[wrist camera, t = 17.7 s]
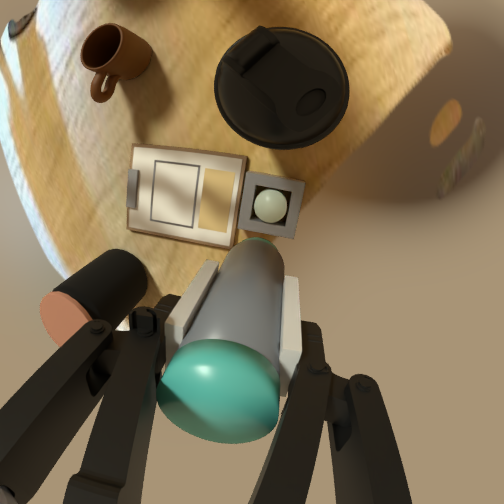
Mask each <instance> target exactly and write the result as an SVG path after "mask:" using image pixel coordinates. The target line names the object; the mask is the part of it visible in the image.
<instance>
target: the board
mask: <svg viewBox="0 0 504 504" xmlns="http://www.w3.org/2000/svg"><path fill="white" fill-rule="evenodd" d="M246 162H247V156H242V155H236V154H229V153H222V152H215V151H207V150H199V149H190V148H181V147H171V146H160V145H148V144H132V149H131V159H130V169H129V170H128V184H127V201H126V207H127V229H129V230H134V231H139V232H144V233H149V234H154V235H159V236H164V237H169V238H174V239H179V240H185V241H190V242H195V243H200V244H205V245H210V246H215V247H220V248H225V249H232V248H233V245H234V239H235V232H236V225H237V219H238V212H239V206H240V200H241V193H242V187H243V181H244V175H245V168H246Z"/></svg>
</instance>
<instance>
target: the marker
mask: <svg viewBox="0 0 504 504" xmlns="http://www.w3.org/2000/svg"><path fill="white" fill-rule="evenodd" d="M283 283H284V262H283V259H282V257H281V255H280V253H279V252H278V250H277V248H276V247H275V246H274V245H273V244H272V243H271V242H270V241H268V240H266V239H263V238H259V237H253V238H248V239H245V240H243V241H242V242H240V243H238V244H237V245H235V246H234V247H233V248H232V249H231V250H230V251H229V253H228V254H227V256H226V258H225V260H224V262H223V264H222V265H221V267H220V269H219V271H218V273H217V275H216V277H215V279H214V281H213V283H212V285H211V287H210V289H209V290H208V292H207V294H206V296H205V298H204V300H203V302H202V304H201V306H200V308H199V309H198V311H197V313H196V315H195V317H194V319H193V321H192V323H191V325H190V327H189V329H188V331H187V333H186V335H185V337H184V338H183V340H182V342H181V344H180V346H179V347H178V349H177V351H176V352H175V353H174V355H173V357H172V358H171V360H170V362H169V364H168V366H167V368H166V370H165V372H164V374H163V376H162V378H161V380H160V382H159V384H158V386H157V389H156V399H157V402H158V405H159V407H160V409H161V410H162V412H163V413H164V414H165V415H166V417H167V418H168V419H169V420H170V421H171V422H173V423H174V424H175V425H176V426H178V427H179V428H181V429H182V430H184V431H186V432H188V433H190V434H192V435H194V436H196V437H199V438H202V439H205V440H208V441H213V442H218V443H228V444H234V443H235V444H237V443H245V442H251V441H254V440H257V439H260V438H262V437H264V436H266V435H267V434H268V433H270V432H271V431H272V430H273V429H274V427H275V426H276V424H277V421H278V416H279V401H280V364H279V348H280V331H281V312H282V290H283Z"/></svg>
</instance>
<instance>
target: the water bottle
mask: <svg viewBox="0 0 504 504" xmlns="http://www.w3.org/2000/svg"><path fill="white" fill-rule="evenodd" d="M214 93H215V99H216V103H217V106H218V108H219V111H220V113H221V115H222V117H223V118H224V120H225V121H226V122H227V124H228V125H229V126H230V127H231V128H232V129H233V130H234V131H235V132H236V133H237V134H239V135H240V136H241V137H243V138H244V139H246V140H248V141H250V142H252V143H254V144H256V145H259V146H262V147H266V148H270V149H278V150H290V149H297V148H303V147H307V146H309V145H312V144H314V143H316V142H318V141H320V140H322V139H323V138H325V137H326V136H327V135H328V134H330V133H331V132H332V131H333V130H334V129H335V128H336V126H337V125H338V124H339V123H340V121H341V120H342V118H343V116H344V114H345V112H346V109H347V106H348V100H349V80H348V76H347V72H346V70H345V67H344V65H343V63H342V61H341V60H340V58H339V56H338V55H337V54H336V53H335V51H334V50H333V49H332V48H331V47H330V46H329V45H328V44H326V43H325V42H324V41H323V40H321V39H320V38H318V37H316V36H314V35H312V34H310V33H308V32H305V31H302V30H299V29H294V28H288V27H272V28H265V27H263V26H258V27H257V28H256V29H255V30H253V31H251V32H250V33H249V34H247V35H245V36H244V37H242V38H240V39H239V40H238V41H236V42H235V43H234V44H233V45H232V46H231V47H230V48H229V49H228V50H227V51H226V53H225V54H224V55H223V57H222V58H221V60H220V62H219V64H218V67H217V69H216V75H215V80H214Z"/></svg>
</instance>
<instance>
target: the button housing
mask: <svg viewBox="0 0 504 504" xmlns="http://www.w3.org/2000/svg"><path fill="white" fill-rule="evenodd" d="M257 185H259V186H265V187H270V188H276V189H281V190H286V191H291V197H290V202H289V207H288V212H287V217H286V222H281V221H277V222H273V223H269V222H265V221H263V220H261V219H260V218H259V217H255V216H252V211H253V205H254V199H255V194H256V188H257ZM304 188H305V181H302V180H297V179H292V178H287V177H282V176H276V175H271V174H266V173H260V172H254V171H247V172H246V177H245V183H244V190H243V196H242V202H241V209H240V215H239V221H238V229H244V230H249V231H254V232H259V233H265V234H270V235H275V236H280V237H285V238H290V239H294V236H295V231H296V226H297V222H298V217H299V212H300V208H301V203H302V198H303V193H304Z"/></svg>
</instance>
